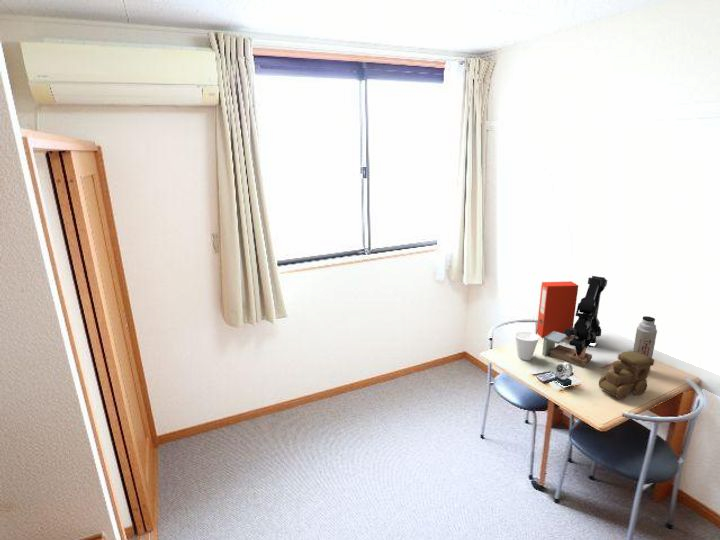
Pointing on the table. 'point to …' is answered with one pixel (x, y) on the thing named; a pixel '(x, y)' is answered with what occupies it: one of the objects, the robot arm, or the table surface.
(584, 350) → the peg
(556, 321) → the file binder
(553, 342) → the awning
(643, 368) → the wooden toy train
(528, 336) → the cup
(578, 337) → the robot arm
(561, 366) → the watch
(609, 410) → the table surface
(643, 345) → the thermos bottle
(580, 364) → the socket block
